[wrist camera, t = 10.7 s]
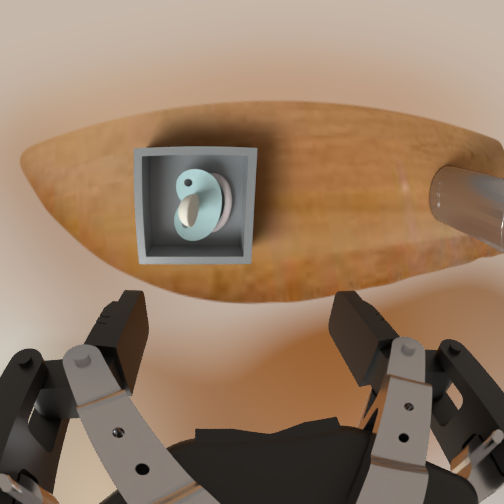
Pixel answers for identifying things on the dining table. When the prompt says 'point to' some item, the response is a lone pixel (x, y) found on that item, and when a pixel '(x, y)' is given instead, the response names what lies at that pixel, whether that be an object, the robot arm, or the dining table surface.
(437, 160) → the dining table surface
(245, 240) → the bin
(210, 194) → the pacifier
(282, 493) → the robot arm
